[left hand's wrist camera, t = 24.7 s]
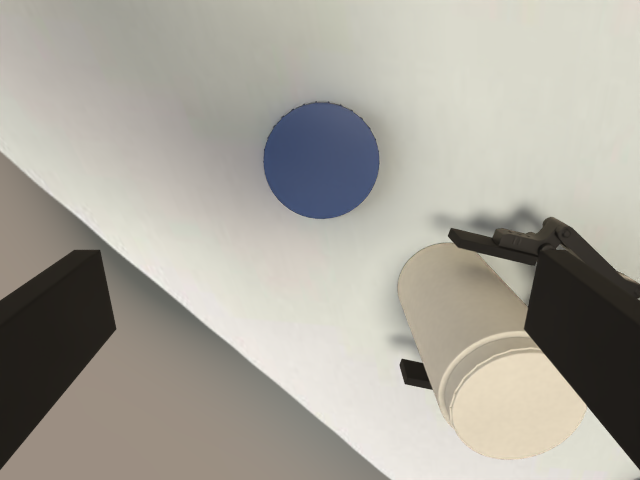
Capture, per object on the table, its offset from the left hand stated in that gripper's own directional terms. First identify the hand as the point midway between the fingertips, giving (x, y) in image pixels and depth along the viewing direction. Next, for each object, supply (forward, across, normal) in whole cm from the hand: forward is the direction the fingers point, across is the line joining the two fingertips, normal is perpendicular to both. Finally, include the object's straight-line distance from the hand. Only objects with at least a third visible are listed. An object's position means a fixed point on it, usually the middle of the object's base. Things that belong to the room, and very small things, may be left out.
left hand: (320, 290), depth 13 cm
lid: (+25, 0, -1) cm, 25 cm away
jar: (+26, +12, -13) cm, 32 cm away
